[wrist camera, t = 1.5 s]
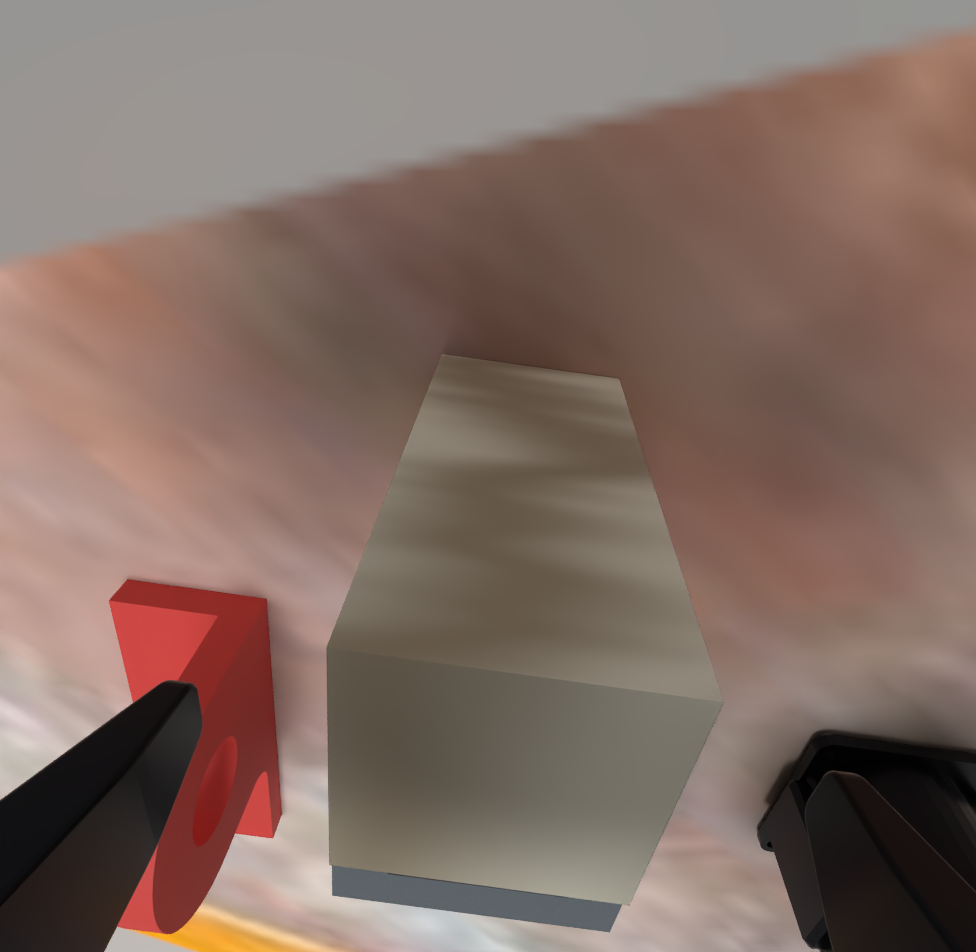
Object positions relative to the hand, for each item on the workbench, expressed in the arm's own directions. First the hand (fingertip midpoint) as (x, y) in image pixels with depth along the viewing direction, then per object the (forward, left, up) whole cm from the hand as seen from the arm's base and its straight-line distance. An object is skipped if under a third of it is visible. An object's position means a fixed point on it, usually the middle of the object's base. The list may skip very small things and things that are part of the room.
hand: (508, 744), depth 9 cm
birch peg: (0, 0, -9) cm, 9 cm away
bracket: (+10, +13, -10) cm, 19 cm away
